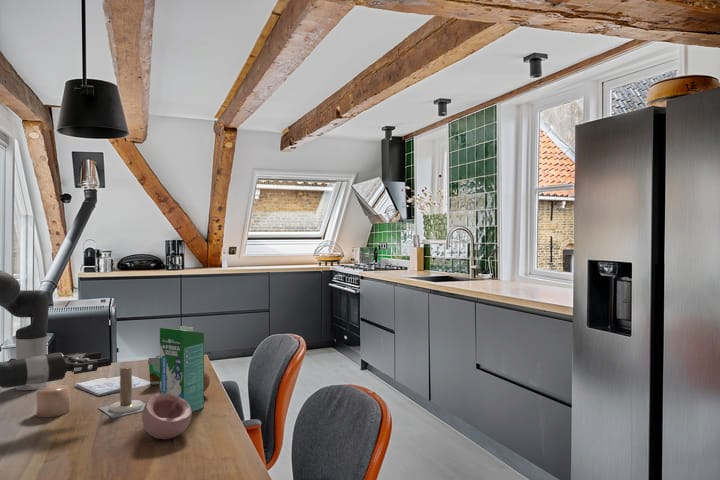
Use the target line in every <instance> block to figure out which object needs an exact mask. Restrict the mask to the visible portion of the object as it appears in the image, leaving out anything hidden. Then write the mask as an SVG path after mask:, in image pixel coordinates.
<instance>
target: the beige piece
mask: <svg viewBox="0 0 720 480" xmlns="http://www.w3.org/2000/svg"><path fill="white" fill-rule="evenodd" d="M119 371H120V372H119V376H120V392H119V401H116V402H113V403H110V404H109V405H110V406H109V405H108V406H109V411H110V412H114V413H126V412H132V411H136V410H139V409H140V408H142V402H143V401H142V400H140V401H138V399H133V398H132V397H133V389H132V376H133V374H132V373H133V368H132V366H122V367H121V368H119ZM141 401H142V402H141Z"/></svg>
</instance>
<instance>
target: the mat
mask: <svg viewBox="0 0 720 480" xmlns="http://www.w3.org/2000/svg"><path fill="white" fill-rule="evenodd" d="M137 400H138V401H141V402H142V408H140V409H139V410H136V411H132V412H126V413H114V412H110V411H109V406H110V405H111V404H109V405H104V406H101V407H98V409H99V410H100V411H101V412H103V413H105V414H106V415H107V416H108V417H110V418H111V419H117V418H119V417H125V416H129V415H133V414H138V413H143V409H144V407H145V405H146V403H147V402H144V401H143V400H140V399H137Z"/></svg>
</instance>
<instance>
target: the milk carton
mask: <svg viewBox="0 0 720 480" xmlns="http://www.w3.org/2000/svg"><path fill="white" fill-rule="evenodd" d="M159 356H160V386H159V394H172V395H176V396H179V397H181V398H182V399H184V400H185V401H186V402H187V403H188V404H189V405H190V407H191V410H192V413H193V412H196V411H198V410H200V409H203V408H205V391H204V371H205V332H201V331H200V332H199V331H194V327H192V326H183V325H180V326H179V329H176V328H168V327H159Z"/></svg>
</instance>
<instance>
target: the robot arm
mask: <svg viewBox="0 0 720 480" xmlns="http://www.w3.org/2000/svg"><path fill="white" fill-rule="evenodd" d="M0 307H2V308H4V310H6V311H7V312H8V313H10V315H12V316H14V317H16V318H23V319H24V318H33V320H32V322H31V323H30V324H28V325H26V326H23V327H21V328H17V329H16V330H15V359H12V360H8V361H0V388H2V389H10V388H15V390H16V391H35V390H38V389H40V388H43V387H47V386H48V383H49V382H56V381H60V380H64V378H65V376H66V373H67V372H71V373H73V375H77V374H84V373H90V372H96V371H98V368H104V367H110V366H111V365H112V358H111V357H105V358H102V352H100V351H98V352H91V353H86V352H84V353H83V352H77V353H76V352H75V353H70V354H65V355H64V353H62V352H60V351H59V352H52V353H48V327H49V326H48V325H49V307H50V298H49V294H48V293H47V291H45V290H42V289H40V290H39V289H35V290H34V289H33V290H21V284H20V283H19V281H18V280H17V279H16V277H14V276H13V275H11V274H10V273H8V272H6V271H3V270H0ZM90 365H92V366H90Z"/></svg>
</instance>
